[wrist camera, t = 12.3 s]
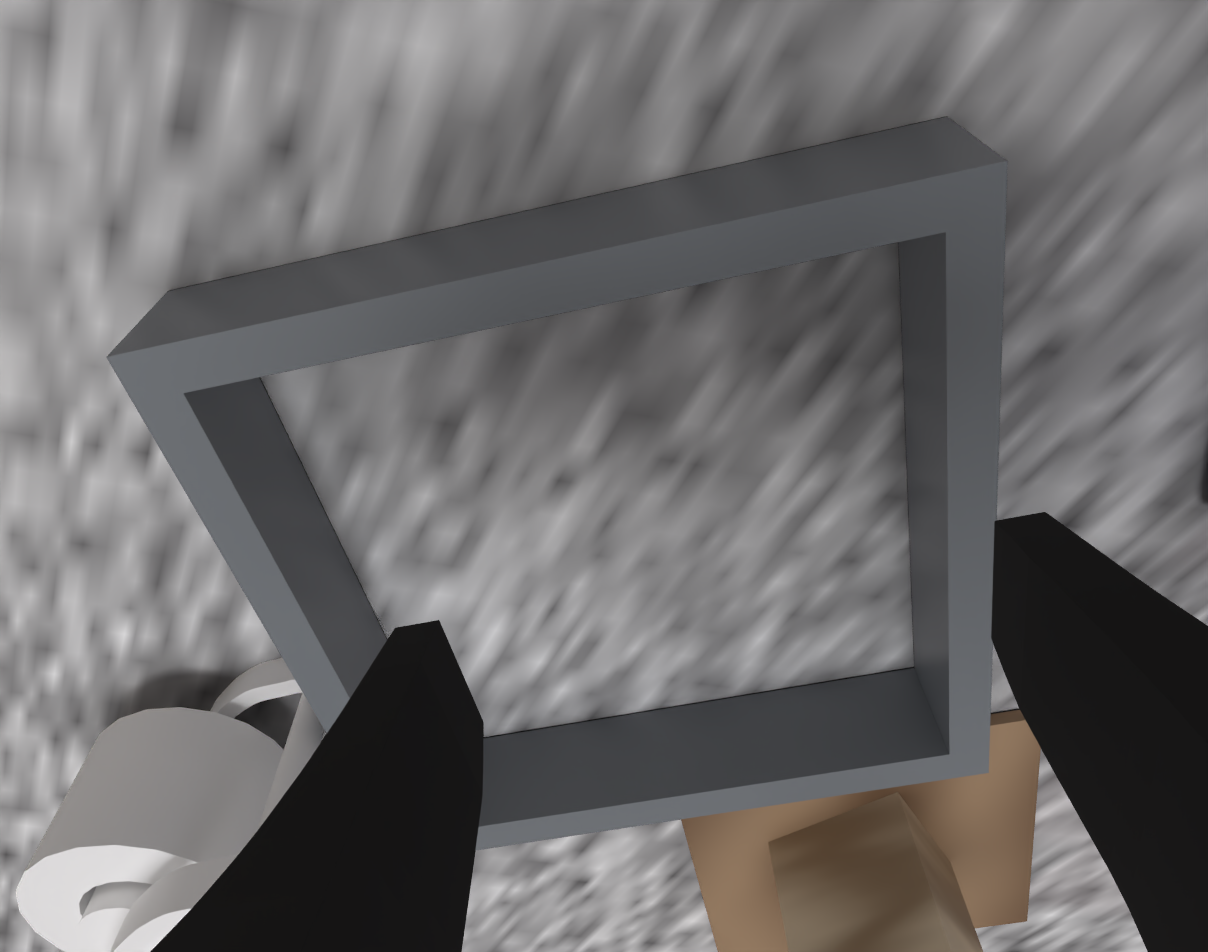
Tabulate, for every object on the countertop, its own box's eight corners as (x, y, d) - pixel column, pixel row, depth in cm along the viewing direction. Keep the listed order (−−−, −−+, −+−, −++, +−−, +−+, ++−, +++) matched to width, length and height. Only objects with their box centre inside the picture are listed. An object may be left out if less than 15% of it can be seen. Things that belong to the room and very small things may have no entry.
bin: (947, 116, 18) (1007, 161, 15) (950, 686, 26) (989, 772, 24) (167, 291, 19) (106, 357, 17) (417, 772, 28) (401, 861, 26)
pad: (1037, 706, 27) (1043, 717, 27) (1022, 910, 33) (1026, 921, 33) (668, 765, 28) (668, 775, 28) (719, 951, 34) (720, 962, 34)
